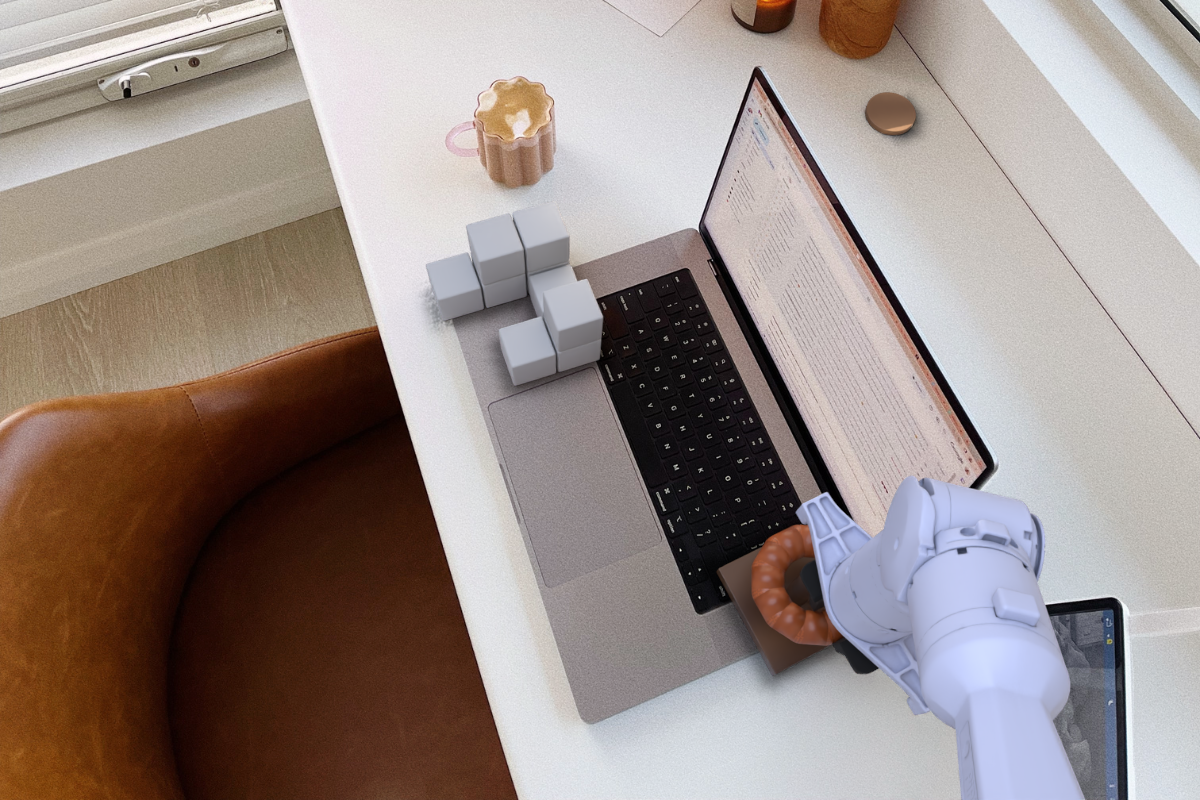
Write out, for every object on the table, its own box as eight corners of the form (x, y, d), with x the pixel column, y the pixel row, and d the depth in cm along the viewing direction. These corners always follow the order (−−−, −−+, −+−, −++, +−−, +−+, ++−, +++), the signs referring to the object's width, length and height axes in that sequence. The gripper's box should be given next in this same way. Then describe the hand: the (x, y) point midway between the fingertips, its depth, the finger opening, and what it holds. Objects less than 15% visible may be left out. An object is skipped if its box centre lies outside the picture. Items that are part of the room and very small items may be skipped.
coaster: (923, 125, 92) (925, 121, 91) (882, 142, 91) (884, 138, 90) (896, 89, 94) (898, 85, 93) (855, 105, 93) (857, 101, 92)
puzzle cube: (430, 286, 83) (417, 237, 75) (556, 249, 85) (555, 199, 77) (469, 401, 78) (459, 361, 71) (600, 360, 80) (603, 317, 73)
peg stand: (870, 624, 72) (900, 608, 66) (772, 676, 70) (793, 664, 64) (811, 524, 75) (834, 499, 69) (716, 571, 73) (731, 550, 67)
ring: (889, 614, 68) (899, 607, 65) (787, 668, 66) (794, 663, 64) (826, 511, 71) (834, 502, 69) (728, 560, 69) (732, 552, 67)
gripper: (1026, 667, 52) (936, 690, 64) (887, 450, 57) (829, 511, 69) (923, 724, 50) (852, 737, 63) (790, 496, 55) (748, 550, 68)
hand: (834, 621), depth 66 cm, fingers closed on ring, 2 cm apart
